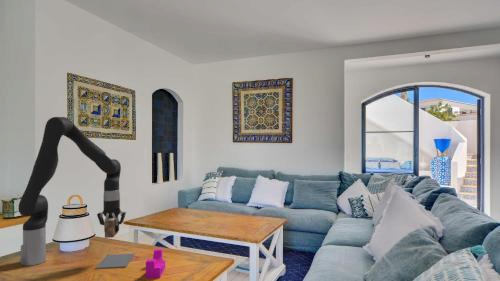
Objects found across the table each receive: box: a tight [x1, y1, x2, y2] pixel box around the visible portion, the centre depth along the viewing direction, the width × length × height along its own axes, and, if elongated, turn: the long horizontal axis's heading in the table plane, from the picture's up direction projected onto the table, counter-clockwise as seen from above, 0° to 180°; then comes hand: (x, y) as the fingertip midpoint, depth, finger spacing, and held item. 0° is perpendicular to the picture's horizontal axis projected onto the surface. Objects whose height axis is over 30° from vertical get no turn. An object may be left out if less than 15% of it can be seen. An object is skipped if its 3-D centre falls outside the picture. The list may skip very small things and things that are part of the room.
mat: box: [94, 253, 135, 270], centre depth 149 cm, size 14×16×1 cm
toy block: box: [145, 248, 166, 279], centre depth 139 cm, size 15×6×8 cm, turn 3°
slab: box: [104, 217, 119, 239], centre depth 149 cm, size 4×8×9 cm, turn 7°
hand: (111, 232), depth 149 cm, fingers closed on slab, 4 cm apart
